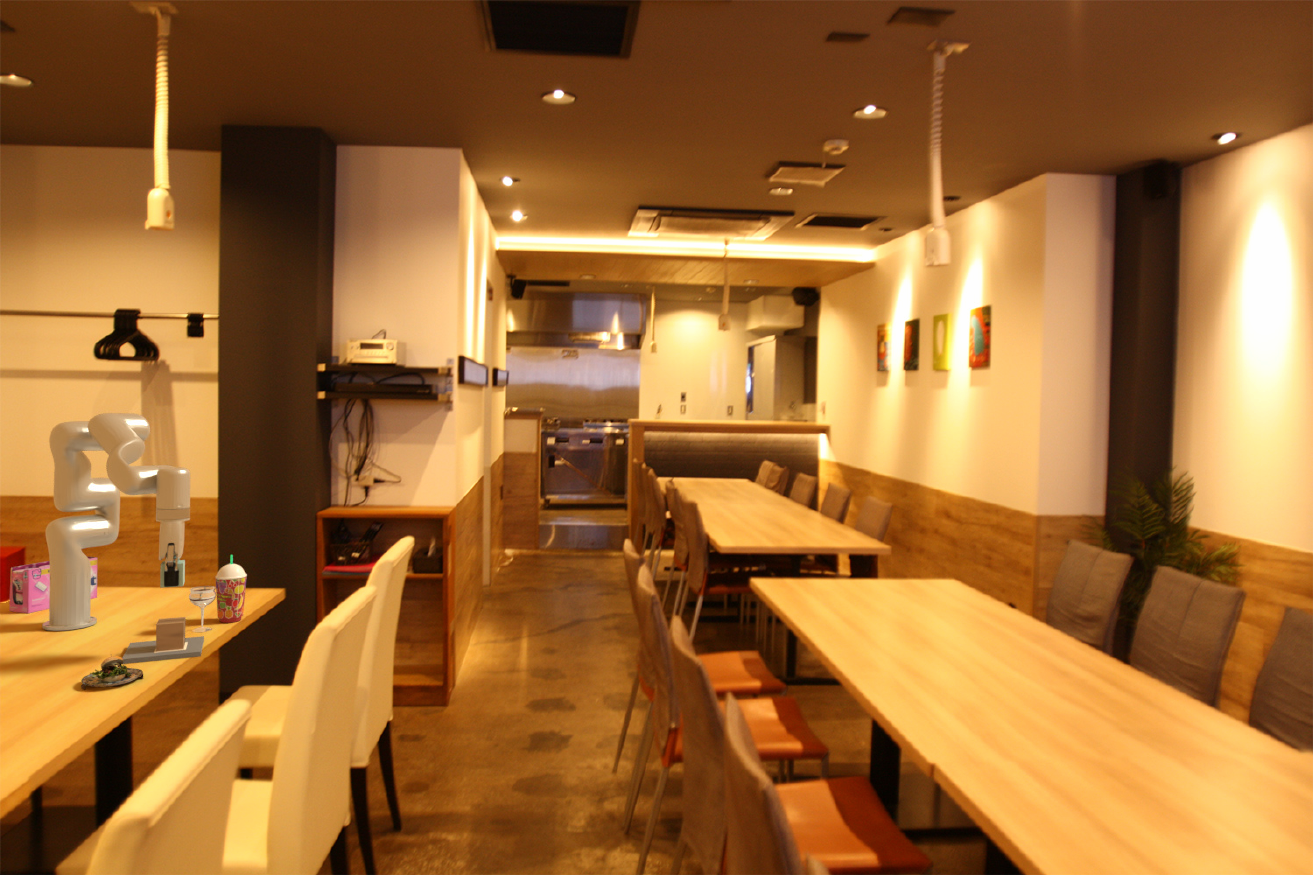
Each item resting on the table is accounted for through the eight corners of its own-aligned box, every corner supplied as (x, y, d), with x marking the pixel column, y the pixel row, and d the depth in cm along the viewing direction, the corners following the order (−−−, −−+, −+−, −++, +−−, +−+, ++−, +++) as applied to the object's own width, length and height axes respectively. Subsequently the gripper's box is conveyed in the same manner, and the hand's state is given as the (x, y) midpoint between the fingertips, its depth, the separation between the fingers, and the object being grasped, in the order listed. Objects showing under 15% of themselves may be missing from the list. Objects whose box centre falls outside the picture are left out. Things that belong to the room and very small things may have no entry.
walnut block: (158, 645, 205) (158, 618, 205) (185, 642, 208) (185, 616, 207) (156, 651, 199) (156, 624, 199) (183, 649, 202) (183, 622, 202)
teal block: (162, 583, 204) (162, 561, 204) (184, 582, 206) (184, 559, 206) (160, 587, 200) (160, 564, 199) (182, 586, 202) (183, 563, 202)
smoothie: (208, 621, 232) (209, 555, 232) (232, 615, 240) (233, 551, 240) (228, 625, 229) (229, 558, 229) (252, 619, 237) (253, 554, 237)
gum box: (23, 615, 234) (24, 570, 234) (3, 612, 236) (4, 568, 236) (98, 597, 258) (98, 556, 257) (79, 595, 260) (79, 555, 259)
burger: (74, 694, 173) (74, 661, 173) (88, 677, 184) (88, 646, 183) (137, 688, 178) (138, 656, 178) (148, 672, 189) (148, 642, 188)
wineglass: (219, 630, 225) (219, 588, 224) (192, 634, 220) (193, 592, 219) (211, 625, 229) (211, 584, 229) (185, 629, 224) (185, 588, 224)
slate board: (130, 647, 206) (130, 642, 206) (203, 640, 214) (203, 635, 214) (121, 664, 193) (121, 658, 193) (200, 656, 201) (200, 651, 201)
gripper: (159, 511, 208) (158, 578, 209) (152, 519, 193) (151, 592, 194) (192, 510, 212) (191, 576, 212) (187, 518, 197) (186, 589, 197)
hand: (172, 583), depth 203 cm, fingers closed on teal block, 5 cm apart
